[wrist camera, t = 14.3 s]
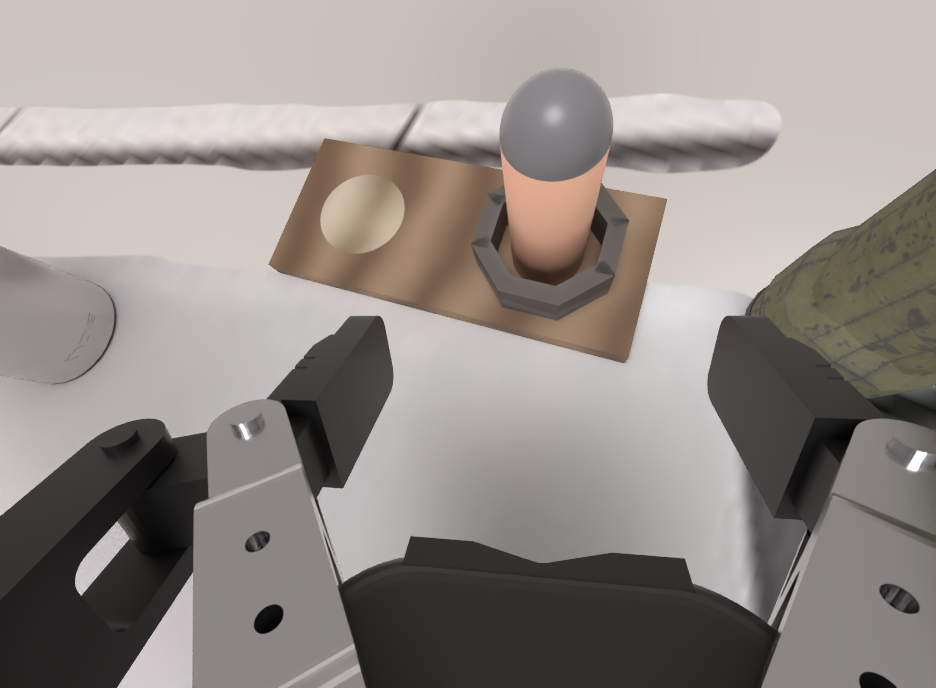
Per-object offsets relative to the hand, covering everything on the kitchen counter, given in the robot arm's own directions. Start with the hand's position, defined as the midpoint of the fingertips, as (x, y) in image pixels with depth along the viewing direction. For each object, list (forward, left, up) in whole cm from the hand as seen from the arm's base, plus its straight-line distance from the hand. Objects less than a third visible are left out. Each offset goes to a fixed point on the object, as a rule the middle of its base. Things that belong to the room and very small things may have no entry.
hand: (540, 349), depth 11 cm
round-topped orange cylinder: (-3, +11, -18) cm, 22 cm away
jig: (-10, +12, -20) cm, 25 cm away
